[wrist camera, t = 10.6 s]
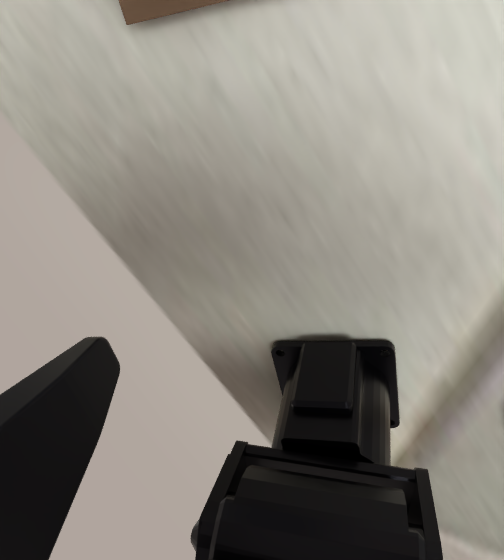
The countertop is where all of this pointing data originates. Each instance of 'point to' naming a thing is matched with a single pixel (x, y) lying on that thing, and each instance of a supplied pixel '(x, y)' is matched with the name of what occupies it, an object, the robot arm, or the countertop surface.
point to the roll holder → (158, 8)
